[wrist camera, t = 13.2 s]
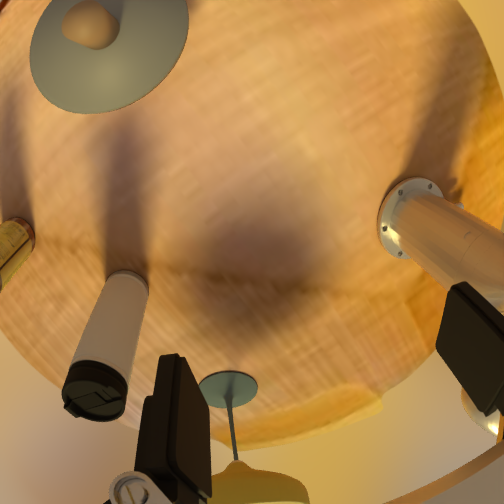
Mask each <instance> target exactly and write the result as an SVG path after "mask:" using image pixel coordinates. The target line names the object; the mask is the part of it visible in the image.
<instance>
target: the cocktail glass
mask: <svg viewBox="0 0 504 504" xmlns="http://www.w3.org/2000/svg"><path fill="white" fill-rule="evenodd" d="M199 388H200V390H201V392H202V394H203V396H204V398H205V400H206V402H207V404H208V405H210V406H213V407H217V408H227V411H228V417H229V424H230V431H231V439H232V446H233V454H234V461H232V462H231V463H230V464H229V465H228V466H227V468H226V469H225V470H224V471H223V472H221V473H219V474H216V475H213V476H211V477H212V497H211V498H207V504H310V503H309V497H308V493H307V490H306V488H305V486H304V485H303V484H302V483H301V482H300V481H298V480H297V479H294V478H292V477H290V476H287V475H284V474H281V473H276V472H270V471H262V470H255V469H252V468H250V467H249V466H247V464H245V463H244V462H242V461H239V460H238V454H237V447H236V439H235V432H234V423H233V413H232V408H233V407H238V406H241V405H244V404H246V403H248V402H249V401H251V400H252V399H253V398H254V397H255V395H256V393H257V384H256V382H255V381H254V380H253V379H252V378H251V377H250V376H248V375H246V374H242V373H238V372H221V373H216V374H213V375H211V376H209V377H207V378H205V379H204V380H203V381H202V382H201V383H200V384H199Z"/></svg>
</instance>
